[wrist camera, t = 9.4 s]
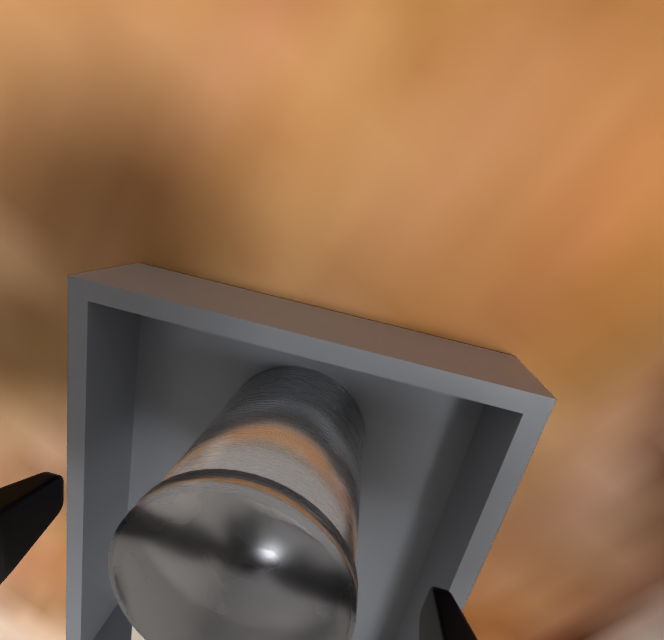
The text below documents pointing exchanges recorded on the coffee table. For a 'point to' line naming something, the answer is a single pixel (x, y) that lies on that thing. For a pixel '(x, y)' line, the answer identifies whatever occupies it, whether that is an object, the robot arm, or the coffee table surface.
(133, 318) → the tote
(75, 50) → the coffee table surface
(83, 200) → the coffee table surface
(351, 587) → the steel tin
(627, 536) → the coffee table surface
